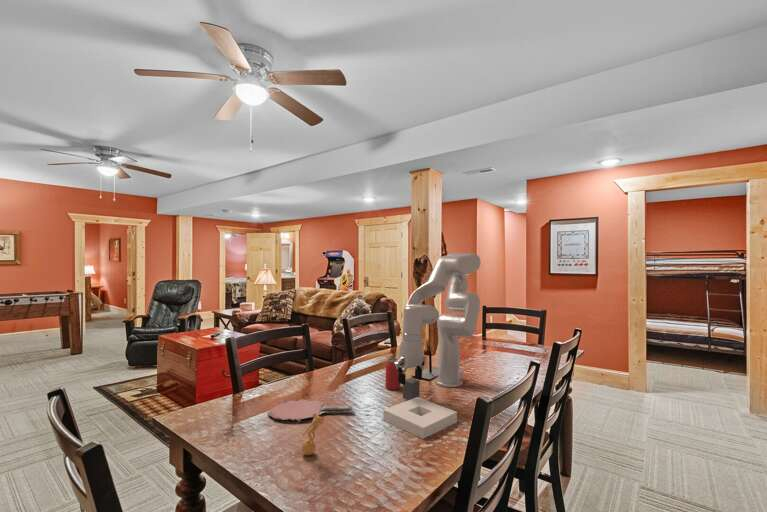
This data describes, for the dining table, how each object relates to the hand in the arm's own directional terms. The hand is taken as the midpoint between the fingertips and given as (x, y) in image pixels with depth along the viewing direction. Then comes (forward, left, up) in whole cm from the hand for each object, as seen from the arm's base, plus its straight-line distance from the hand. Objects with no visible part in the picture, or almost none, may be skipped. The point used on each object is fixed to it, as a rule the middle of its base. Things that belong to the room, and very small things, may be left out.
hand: (410, 381), depth 143 cm
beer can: (-6, -15, -8) cm, 18 cm away
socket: (+10, +14, -8) cm, 19 cm away
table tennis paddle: (+35, -17, -9) cm, 40 cm away
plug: (-1, 0, -8) cm, 8 cm away
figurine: (+50, +8, -8) cm, 51 cm away
